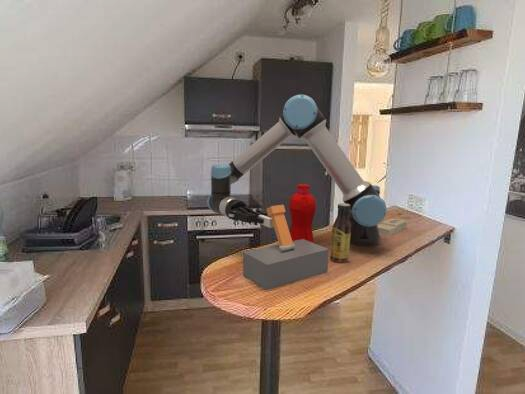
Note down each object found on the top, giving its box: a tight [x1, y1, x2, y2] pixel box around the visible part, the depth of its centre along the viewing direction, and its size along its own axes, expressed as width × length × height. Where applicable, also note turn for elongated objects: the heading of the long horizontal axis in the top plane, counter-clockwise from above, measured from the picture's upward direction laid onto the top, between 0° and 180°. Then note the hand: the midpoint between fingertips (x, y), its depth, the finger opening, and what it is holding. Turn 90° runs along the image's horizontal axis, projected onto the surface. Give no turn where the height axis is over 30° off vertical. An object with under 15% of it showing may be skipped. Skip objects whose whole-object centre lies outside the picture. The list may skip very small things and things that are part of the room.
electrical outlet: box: [377, 218, 407, 237], centre depth 159 cm, size 7×4×18 cm
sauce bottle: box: [329, 202, 351, 263], centre depth 119 cm, size 6×6×20 cm
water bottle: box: [288, 183, 317, 244], centre depth 126 cm, size 9×11×25 cm
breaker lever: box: [266, 204, 295, 252], centre depth 108 cm, size 5×3×14 cm, turn 126°
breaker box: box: [242, 239, 330, 291], centre depth 107 cm, size 24×12×8 cm, turn 126°
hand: (271, 223), depth 111 cm, fingers closed
